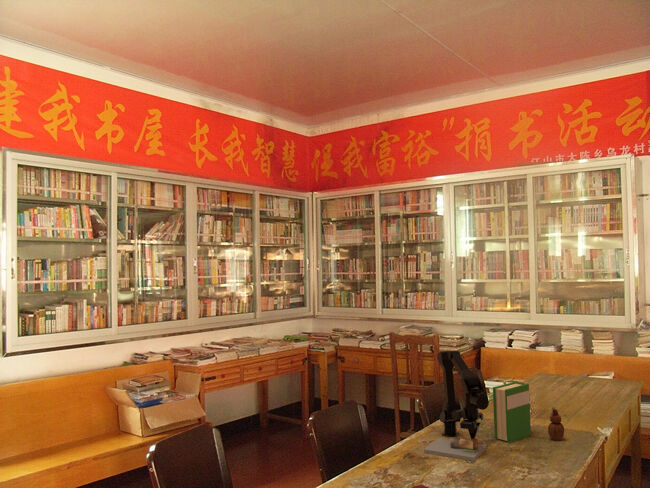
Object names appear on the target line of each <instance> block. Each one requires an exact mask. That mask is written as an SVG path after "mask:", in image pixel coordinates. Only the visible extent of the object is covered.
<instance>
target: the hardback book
mask: <svg viewBox="0 0 650 488" xmlns="http://www.w3.org/2000/svg"><path fill="white" fill-rule="evenodd" d="M492 400H493V401H492V403H493V404H492V405H493V428H494V440H495V441H498V440H502V441H506V443H507V444H512V443H514V442H516V441H519V440H520V441H521V439H522V440H523V439H525V438H527V437H531V436H532V431H531V429H532V427H531V426H532V425H531V410H530V409H531V405H530V403H531V402H530V384H529V383H524V382H519V381H513V382H509V383H504V384H501V385H497V386H493V387H492Z"/></svg>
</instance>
